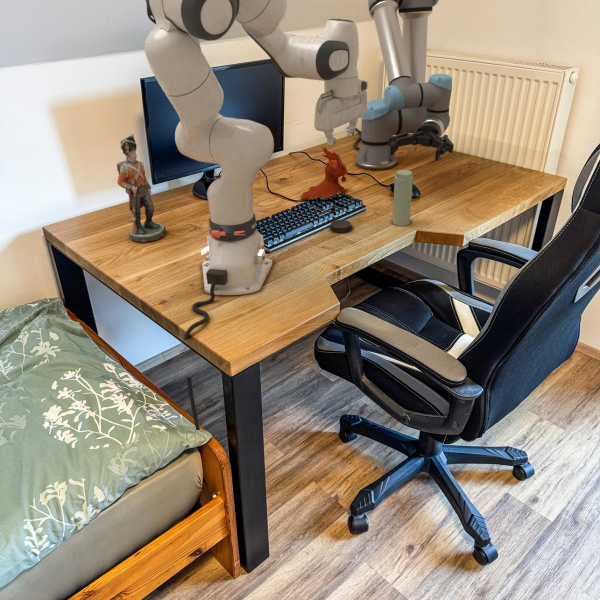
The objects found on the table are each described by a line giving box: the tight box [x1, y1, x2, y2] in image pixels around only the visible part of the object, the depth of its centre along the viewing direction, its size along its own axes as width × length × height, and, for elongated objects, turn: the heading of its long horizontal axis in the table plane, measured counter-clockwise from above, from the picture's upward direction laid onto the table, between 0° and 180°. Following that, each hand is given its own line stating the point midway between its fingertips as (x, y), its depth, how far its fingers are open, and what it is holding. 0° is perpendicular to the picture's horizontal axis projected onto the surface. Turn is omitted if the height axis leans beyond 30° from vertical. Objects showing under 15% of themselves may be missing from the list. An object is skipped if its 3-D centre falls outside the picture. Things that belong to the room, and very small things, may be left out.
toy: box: [300, 146, 348, 201], centre depth 188 cm, size 13×18×15 cm
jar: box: [392, 169, 414, 227], centre depth 166 cm, size 5×5×16 cm
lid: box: [329, 219, 352, 234], centre depth 168 cm, size 6×6×2 cm
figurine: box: [116, 132, 166, 243], centre depth 161 cm, size 11×11×30 cm
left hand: (341, 140), depth 154 cm, fingers open, 8 cm apart
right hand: (413, 153), depth 168 cm, fingers open, 13 cm apart
